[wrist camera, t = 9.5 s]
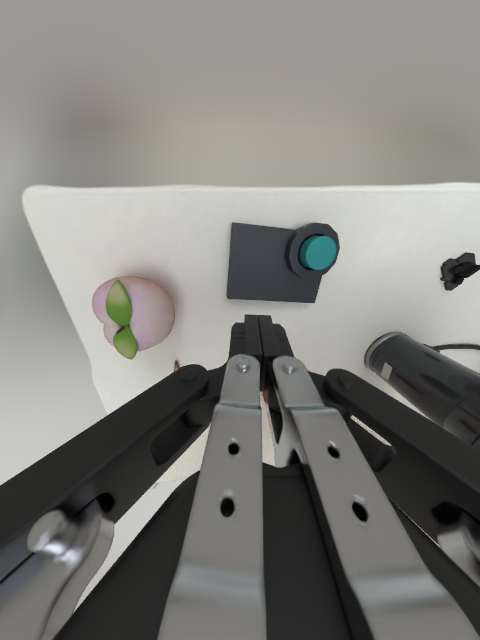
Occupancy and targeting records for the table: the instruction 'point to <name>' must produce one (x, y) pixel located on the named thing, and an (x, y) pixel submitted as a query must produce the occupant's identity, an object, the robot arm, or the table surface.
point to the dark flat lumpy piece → (458, 270)
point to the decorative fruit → (133, 314)
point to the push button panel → (274, 263)
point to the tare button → (317, 252)
